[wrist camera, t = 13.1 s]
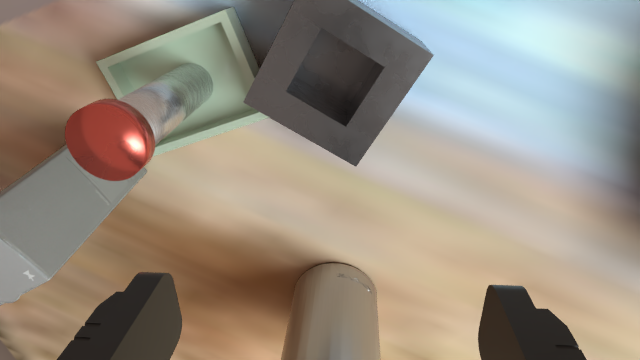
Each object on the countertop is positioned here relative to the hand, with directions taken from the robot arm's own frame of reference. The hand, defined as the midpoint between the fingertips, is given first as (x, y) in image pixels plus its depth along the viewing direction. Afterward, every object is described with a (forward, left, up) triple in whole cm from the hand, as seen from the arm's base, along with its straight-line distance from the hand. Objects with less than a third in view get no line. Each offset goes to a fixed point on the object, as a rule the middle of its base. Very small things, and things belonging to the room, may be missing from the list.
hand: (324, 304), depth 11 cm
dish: (-8, +11, -28) cm, 31 cm away
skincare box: (-21, +16, -28) cm, 39 cm away
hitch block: (0, +1, -28) cm, 28 cm away
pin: (-8, +11, -28) cm, 31 cm away
